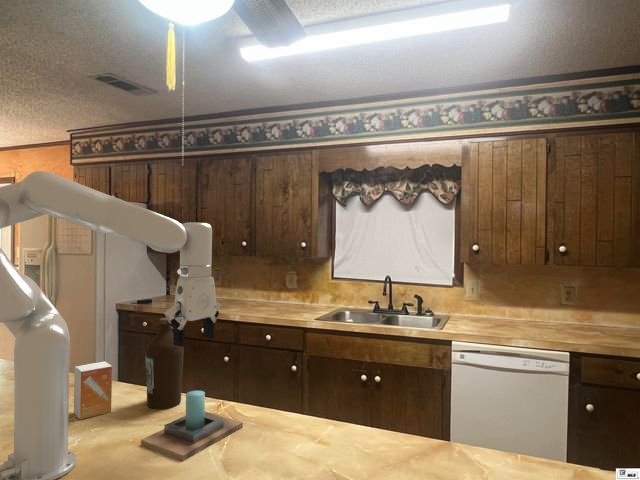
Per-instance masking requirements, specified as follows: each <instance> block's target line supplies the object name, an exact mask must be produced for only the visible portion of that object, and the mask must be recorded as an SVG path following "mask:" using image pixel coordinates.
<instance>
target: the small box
mask: <svg viewBox="0 0 640 480" xmlns="http://www.w3.org/2000/svg"><path fill="white" fill-rule="evenodd" d="M73 373H74V375H73V376H74V377H73V379H74V380H73V383H74V384H73V413H74V415H76V417H77V418H78V419H79V420H83V419H88V418H92V417H95V416H100V415H105V414H109V413H111V412H112V396H113V395H112V393H113V392H112V391H113V390H112V387H113V365H111V364H109V363H108V362H107V361H100V362H93V363H87V364H82V365H77V366H74V372H73Z"/></svg>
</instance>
